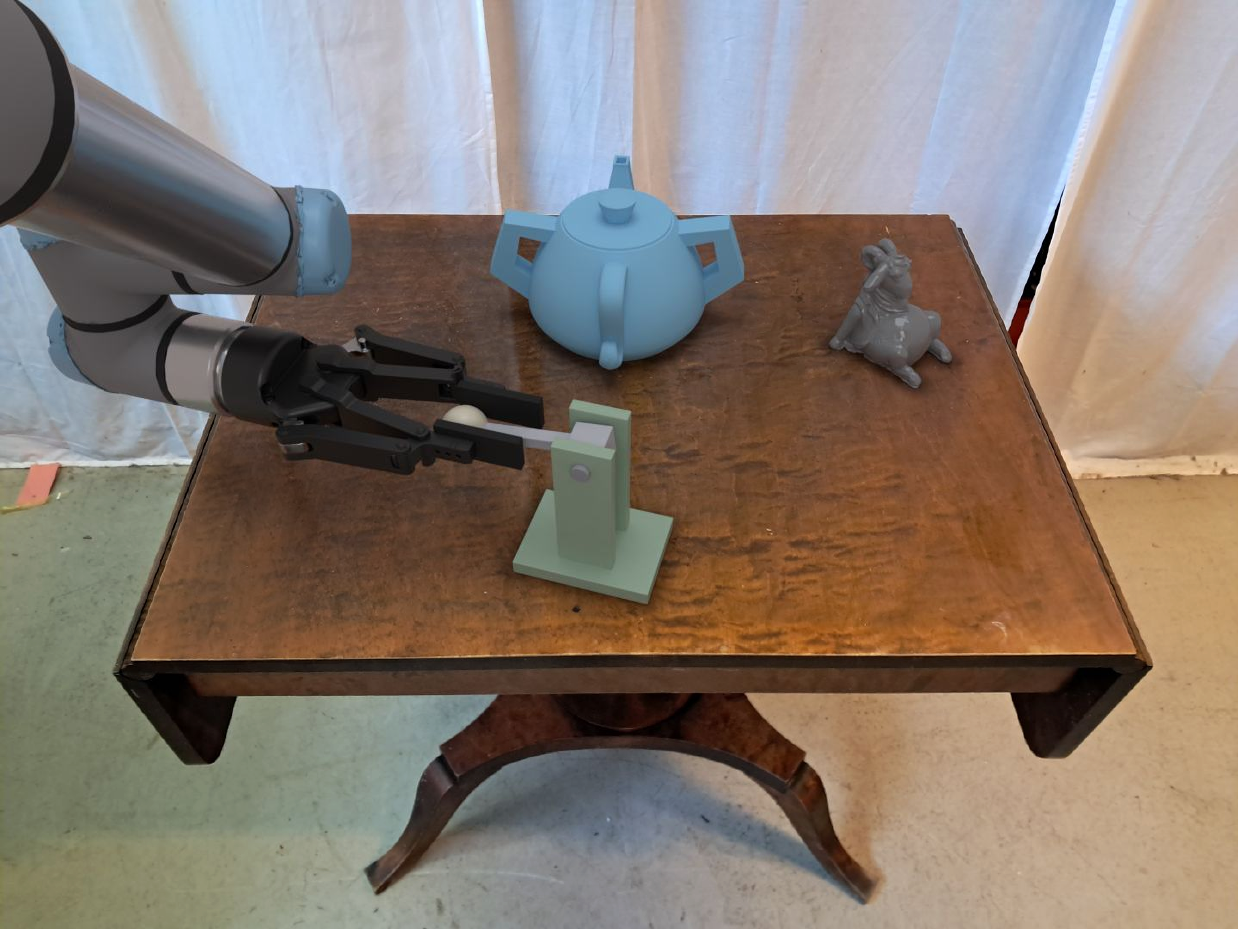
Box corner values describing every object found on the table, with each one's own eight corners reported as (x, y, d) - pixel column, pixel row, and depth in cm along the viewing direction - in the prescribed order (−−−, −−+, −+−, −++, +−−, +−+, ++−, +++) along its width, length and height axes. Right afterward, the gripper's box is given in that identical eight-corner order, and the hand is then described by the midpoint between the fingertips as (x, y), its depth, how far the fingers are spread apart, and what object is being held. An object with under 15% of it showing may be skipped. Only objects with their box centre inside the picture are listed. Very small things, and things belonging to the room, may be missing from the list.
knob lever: (439, 459, 71) (427, 424, 68) (458, 427, 73) (447, 392, 71) (606, 484, 67) (600, 448, 65) (620, 449, 70) (615, 413, 67)
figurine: (910, 394, 89) (939, 303, 81) (825, 344, 94) (844, 254, 86) (959, 354, 93) (991, 263, 85) (874, 308, 98) (897, 218, 90)
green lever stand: (513, 572, 75) (497, 451, 65) (547, 498, 80) (537, 376, 70) (647, 605, 73) (652, 485, 63) (672, 527, 78) (681, 406, 68)
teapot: (744, 323, 96) (758, 202, 86) (599, 407, 88) (595, 285, 78) (623, 241, 106) (622, 125, 96) (481, 310, 98) (465, 190, 88)
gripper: (311, 342, 81) (570, 396, 77) (200, 481, 70) (494, 552, 66) (289, 270, 76) (566, 323, 71) (165, 408, 65) (483, 480, 60)
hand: (531, 433), depth 68 cm, fingers closed on knob lever, 4 cm apart
